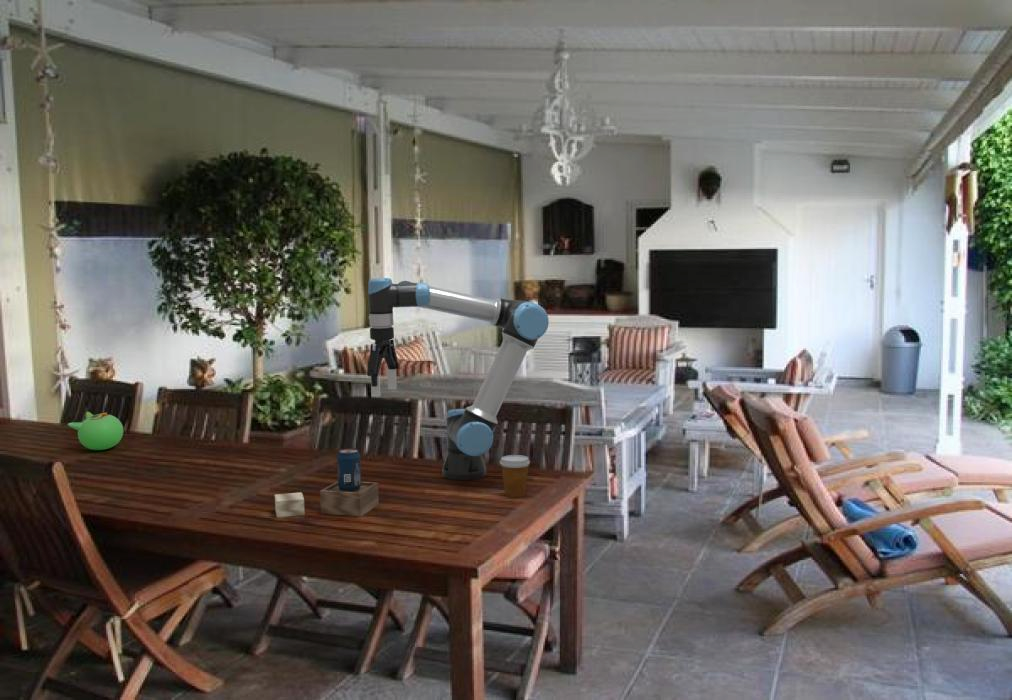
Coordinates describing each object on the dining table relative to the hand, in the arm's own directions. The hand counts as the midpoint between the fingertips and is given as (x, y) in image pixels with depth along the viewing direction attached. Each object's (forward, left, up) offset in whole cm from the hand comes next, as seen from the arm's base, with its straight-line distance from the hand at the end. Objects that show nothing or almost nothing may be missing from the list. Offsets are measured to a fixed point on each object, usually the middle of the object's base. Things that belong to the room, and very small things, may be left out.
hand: (384, 392), depth 306 cm
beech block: (+18, +30, -32) cm, 48 cm away
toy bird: (+133, -27, -32) cm, 140 cm away
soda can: (+2, +22, -26) cm, 34 cm away
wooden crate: (+2, +22, -32) cm, 39 cm away
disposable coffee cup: (-42, -6, -32) cm, 53 cm away
